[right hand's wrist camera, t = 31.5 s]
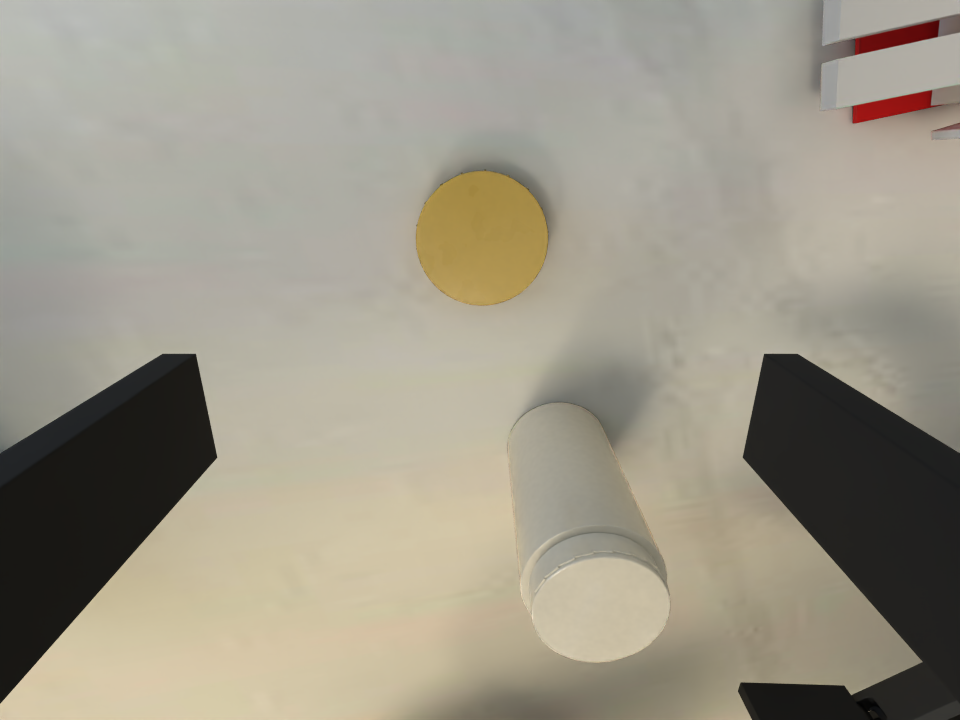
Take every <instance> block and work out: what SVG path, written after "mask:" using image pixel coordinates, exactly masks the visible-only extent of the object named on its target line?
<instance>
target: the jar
mask: <svg viewBox="0 0 960 720" xmlns="http://www.w3.org/2000/svg"><path fill="white" fill-rule="evenodd" d="M507 451H508V462H509V473H510V483H511V494H512V505H513V515H514V526H515V536H516V547H517V558H518V568H519V579H520V589H521V596H522V599H523V602H524V604H525V607H526V608H527V610H528V611H529V613H530V614H531V616H532V622H533V626H534V629H535V631H536V633H537V634H538V636H539V637H540V639H541V640H542V641H543V642H544V643H545V645H546V646H548V647H549V648H550V649H551V650H553V651H555V652H556V653H558V654H560V655H562V656H564V657H567V658H570V659H573V660H577V661H582V662H595V663H599V662H609V661H615V660H619V659H622V658H625V657H628V656H631V655H633V654H635V653H637V652H639V651H641V650H642V649H644V648H645V647H647V646H648V645H649V644H651V643H652V642H653V641H654V640H655V639H656V638H657V637H658V636H659V634H660V633H661V632H662V630H663V629H664V627H665V625H666V623H667V620H668V618H669V613H670V594H669V590H668V586H667V571H666V566H665V563H664V560H663V557H662V555H661V553H660V551H659V549H658V547H657V544H656V542H655V540H654V538H653V536H652V533H651V531H650V529H649V527H648V525H647V523H646V520H645V518H644V516H643V514H642V512H641V509H640V507H639V505H638V503H637V501H636V499H635V496H634V494H633V492H632V490H631V488H630V485H629V483H628V481H627V479H626V477H625V475H624V472H623V470H622V468H621V466H620V464H619V461H618V459H617V457H616V455H615V453H614V451H613V448H612V446H611V444H610V442H609V440H608V437H607V435H606V433H605V431H604V429H603V427H602V425H601V423H600V422H599V420H598V419H597V418H596V417H595V416H594V415H593V414H592V413H590V412H589V411H588V410H586V409H584V408H582V407H580V406H578V405H574V404H570V403H561V402H556V403H549V404H544V405H541V406H538V407H536V408H534V409H532V410H530V411H529V412H527V413H526V414H525V415H523V416H522V417H521V418H520V419H519V420H518V421H517V423H516V424H515V425H514V427H513V429H512V431H511V433H510V435H509V439H508V444H507Z"/></svg>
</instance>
